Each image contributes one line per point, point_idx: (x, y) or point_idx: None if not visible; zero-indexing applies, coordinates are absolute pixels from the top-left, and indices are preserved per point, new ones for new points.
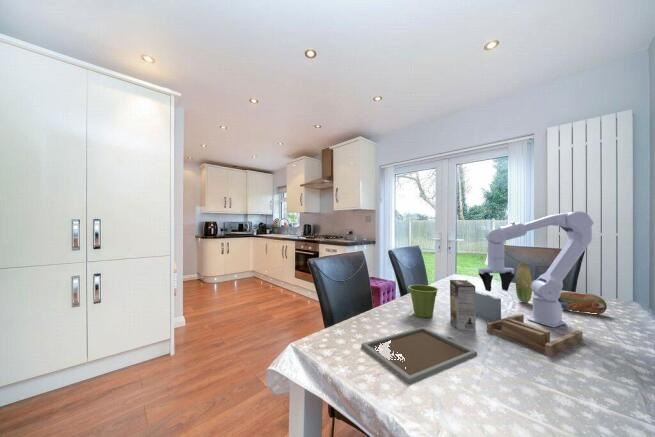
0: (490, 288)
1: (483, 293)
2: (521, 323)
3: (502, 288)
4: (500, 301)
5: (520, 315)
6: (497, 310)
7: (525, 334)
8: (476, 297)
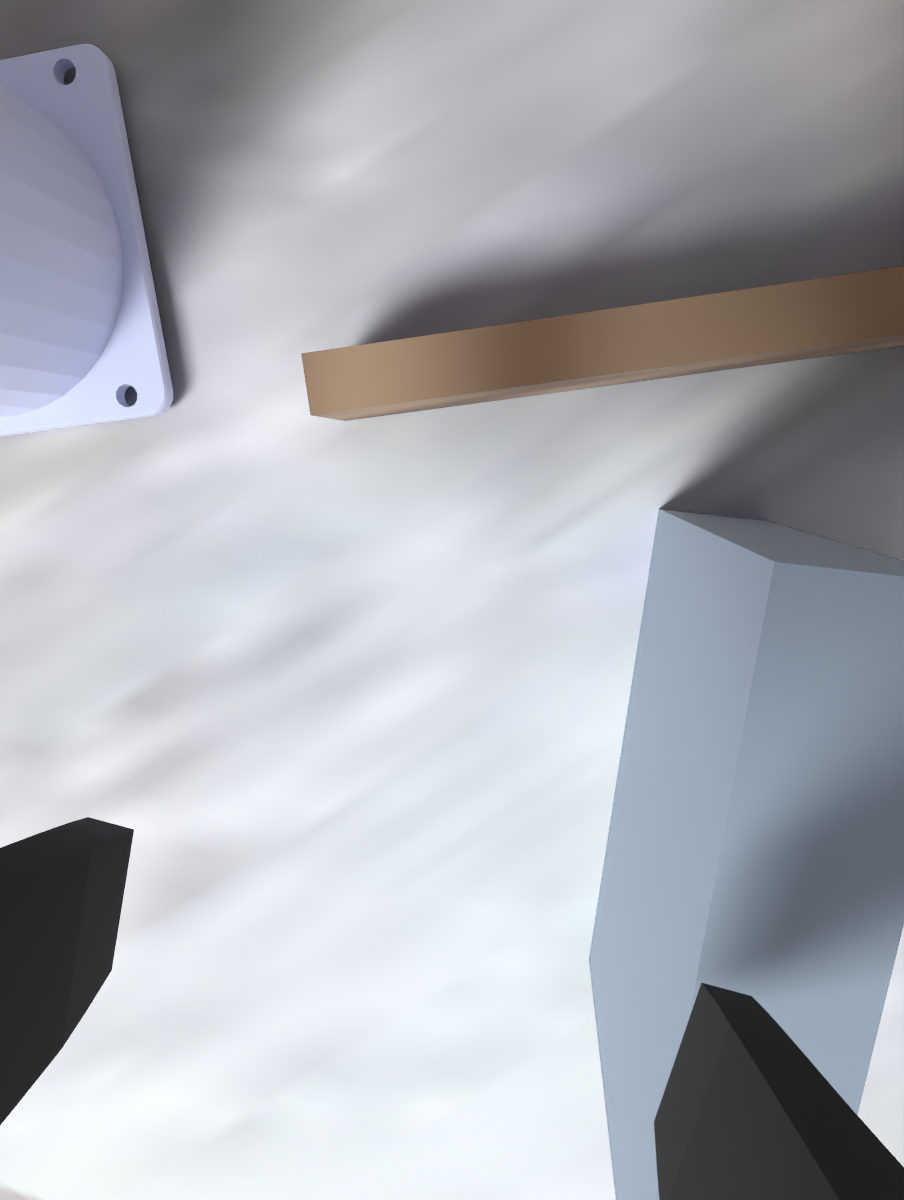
0: (767, 1050)
1: None
2: None
3: (91, 990)
4: (762, 555)
5: (401, 343)
6: (798, 537)
7: None
8: None
